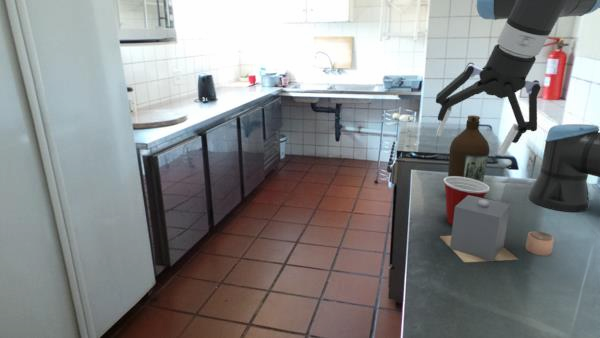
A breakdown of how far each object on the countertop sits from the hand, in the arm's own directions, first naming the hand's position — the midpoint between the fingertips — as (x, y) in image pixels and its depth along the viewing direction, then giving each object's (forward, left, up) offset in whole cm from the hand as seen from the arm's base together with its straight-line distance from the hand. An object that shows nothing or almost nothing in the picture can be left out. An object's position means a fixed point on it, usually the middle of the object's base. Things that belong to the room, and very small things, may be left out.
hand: (469, 142), depth 89 cm
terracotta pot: (-15, +7, -24) cm, 29 cm away
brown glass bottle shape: (-15, -27, -24) cm, 39 cm away
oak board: (-2, +5, -24) cm, 25 cm away
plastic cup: (-5, -8, -24) cm, 26 cm away
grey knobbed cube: (-2, +5, -23) cm, 23 cm away
